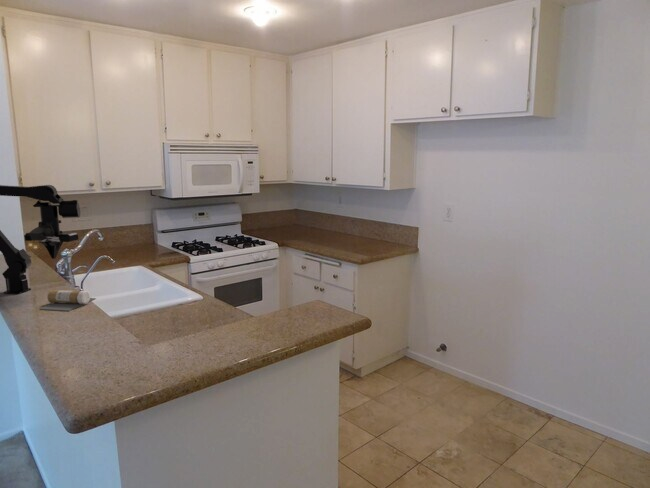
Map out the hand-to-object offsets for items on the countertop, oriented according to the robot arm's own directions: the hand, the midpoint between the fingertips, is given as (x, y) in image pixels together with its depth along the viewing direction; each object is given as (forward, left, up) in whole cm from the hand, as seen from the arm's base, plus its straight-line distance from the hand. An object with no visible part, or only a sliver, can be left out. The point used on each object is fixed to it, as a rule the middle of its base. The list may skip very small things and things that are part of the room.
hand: (53, 258), depth 179 cm
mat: (+18, -17, -12) cm, 28 cm away
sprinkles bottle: (+11, -17, -10) cm, 22 cm away
